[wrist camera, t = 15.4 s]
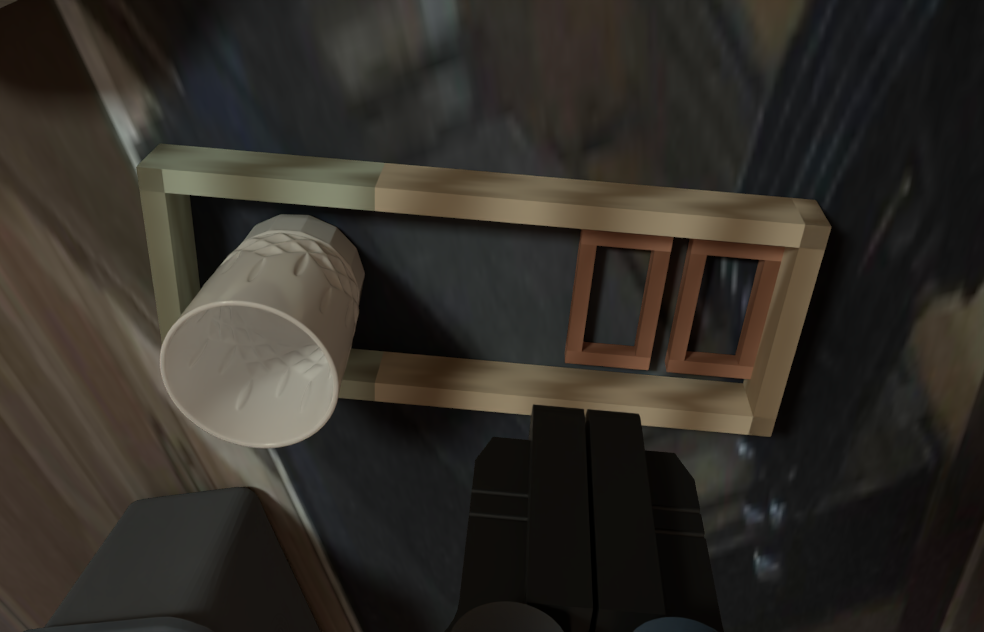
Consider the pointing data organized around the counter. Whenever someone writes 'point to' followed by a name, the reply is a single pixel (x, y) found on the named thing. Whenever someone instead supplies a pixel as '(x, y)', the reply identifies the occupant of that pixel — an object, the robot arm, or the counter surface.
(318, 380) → the white cup
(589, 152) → the counter surface
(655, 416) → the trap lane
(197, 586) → the storage bin
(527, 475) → the robot arm
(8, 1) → the lumpy-topped squat cylinder
